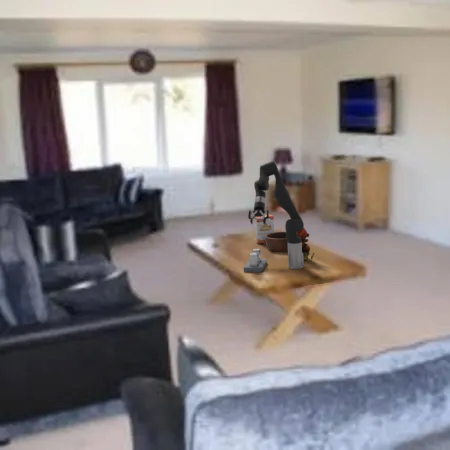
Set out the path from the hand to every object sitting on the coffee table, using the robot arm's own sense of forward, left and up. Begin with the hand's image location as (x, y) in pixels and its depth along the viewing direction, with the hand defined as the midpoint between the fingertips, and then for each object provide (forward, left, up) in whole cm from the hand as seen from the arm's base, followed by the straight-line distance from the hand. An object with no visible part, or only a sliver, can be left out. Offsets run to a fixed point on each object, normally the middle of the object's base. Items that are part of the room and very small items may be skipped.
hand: (257, 223), depth 459 cm
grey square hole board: (+12, +12, -27) cm, 32 cm away
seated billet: (+16, +16, -27) cm, 35 cm away
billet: (+8, +8, -27) cm, 29 cm away
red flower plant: (-24, +18, -27) cm, 40 cm away
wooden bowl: (-34, -18, -27) cm, 47 cm away
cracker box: (-37, -44, -27) cm, 63 cm away
